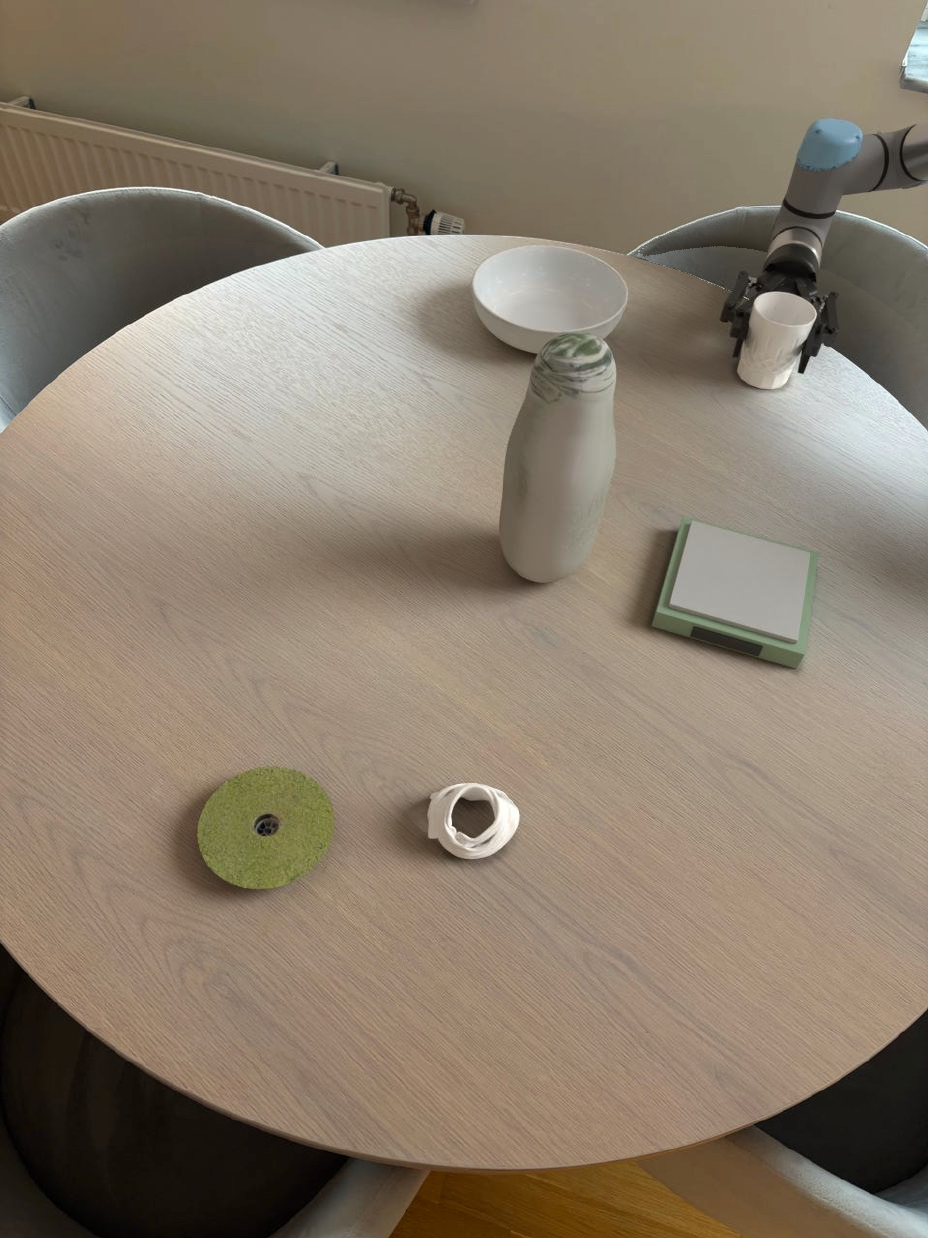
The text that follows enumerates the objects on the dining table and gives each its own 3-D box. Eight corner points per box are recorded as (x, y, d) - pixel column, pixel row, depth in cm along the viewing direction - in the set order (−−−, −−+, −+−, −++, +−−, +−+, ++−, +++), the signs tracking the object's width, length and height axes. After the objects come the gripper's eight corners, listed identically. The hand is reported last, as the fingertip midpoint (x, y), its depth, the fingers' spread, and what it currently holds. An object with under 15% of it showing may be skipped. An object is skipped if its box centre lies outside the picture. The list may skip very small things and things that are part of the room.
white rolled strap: (512, 796, 85) (521, 764, 82) (520, 863, 81) (530, 831, 77) (423, 795, 84) (429, 762, 81) (427, 863, 79) (432, 831, 76)
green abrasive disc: (347, 879, 78) (347, 869, 77) (209, 914, 76) (205, 904, 74) (321, 765, 85) (320, 753, 84) (193, 793, 83) (189, 782, 81)
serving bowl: (460, 289, 136) (463, 244, 131) (602, 288, 139) (610, 243, 134) (477, 377, 123) (481, 331, 118) (634, 374, 126) (644, 329, 120)
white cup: (803, 381, 127) (829, 315, 119) (762, 399, 124) (786, 332, 116) (761, 351, 131) (784, 285, 123) (720, 368, 128) (741, 301, 120)
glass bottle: (526, 519, 107) (559, 296, 85) (604, 560, 103) (660, 338, 82) (476, 570, 102) (498, 345, 80) (557, 615, 98) (603, 393, 77)
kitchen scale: (811, 567, 105) (820, 548, 102) (796, 671, 95) (806, 653, 93) (678, 531, 107) (684, 511, 105) (650, 628, 98) (656, 609, 95)
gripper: (854, 308, 135) (842, 400, 121) (712, 276, 138) (684, 362, 124) (875, 259, 129) (864, 350, 115) (726, 227, 133) (698, 311, 119)
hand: (770, 356), depth 120 cm, fingers closed on white cup, 8 cm apart
